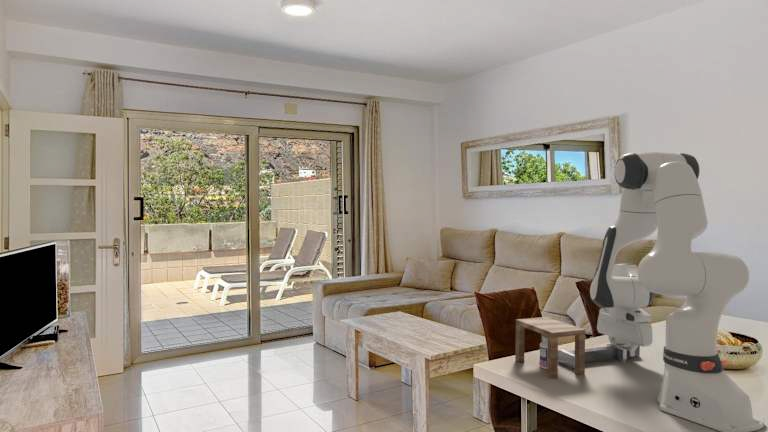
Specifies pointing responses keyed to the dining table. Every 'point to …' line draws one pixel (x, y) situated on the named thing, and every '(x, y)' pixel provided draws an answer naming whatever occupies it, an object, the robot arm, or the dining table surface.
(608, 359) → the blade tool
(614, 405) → the dining table surface
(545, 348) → the pill bottle
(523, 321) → the low table
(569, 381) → the dining table surface
